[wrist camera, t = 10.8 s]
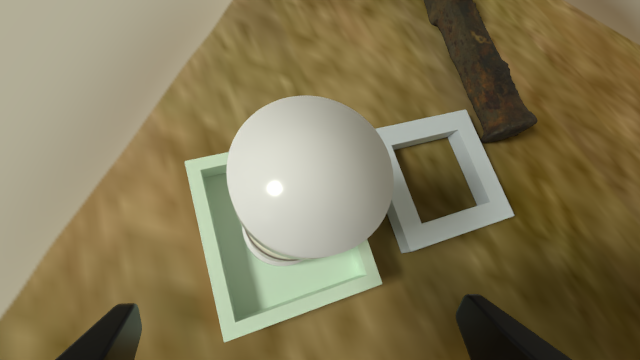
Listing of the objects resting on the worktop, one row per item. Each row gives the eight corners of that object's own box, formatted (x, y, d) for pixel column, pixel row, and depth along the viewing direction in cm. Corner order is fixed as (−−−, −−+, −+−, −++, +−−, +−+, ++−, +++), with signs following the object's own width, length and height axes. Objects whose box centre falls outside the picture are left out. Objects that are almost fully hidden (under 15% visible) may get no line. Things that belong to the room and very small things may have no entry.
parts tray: (369, 282, 22) (382, 283, 20) (227, 334, 19) (224, 342, 17) (323, 144, 24) (330, 130, 22) (192, 173, 22) (184, 161, 19)
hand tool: (511, 141, 29) (556, 118, 24) (476, 148, 28) (517, 125, 23) (442, -18, 33) (470, -62, 29) (409, -17, 32) (434, -63, 28)
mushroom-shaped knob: (333, 231, 22) (424, 182, 10) (277, 283, 20) (307, 297, 8) (285, 176, 22) (319, 69, 11) (226, 223, 21) (188, 156, 9)
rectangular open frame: (500, 218, 26) (514, 215, 24) (401, 253, 23) (411, 251, 22) (455, 117, 28) (465, 109, 26) (360, 138, 25) (366, 130, 24)
